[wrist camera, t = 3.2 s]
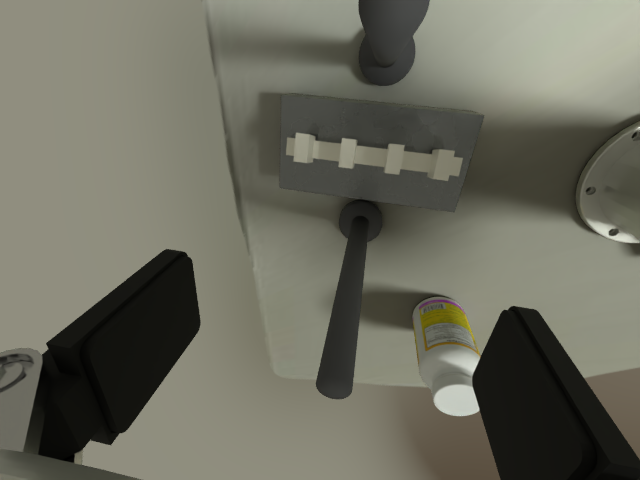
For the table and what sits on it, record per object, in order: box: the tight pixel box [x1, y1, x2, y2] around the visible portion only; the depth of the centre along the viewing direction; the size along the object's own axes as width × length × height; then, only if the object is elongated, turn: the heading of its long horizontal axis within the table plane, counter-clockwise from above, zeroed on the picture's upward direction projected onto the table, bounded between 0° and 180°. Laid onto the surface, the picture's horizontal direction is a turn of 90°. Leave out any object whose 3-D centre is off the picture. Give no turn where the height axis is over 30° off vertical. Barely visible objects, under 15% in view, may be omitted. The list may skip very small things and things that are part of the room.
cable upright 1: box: [316, 200, 382, 399], centre depth 27 cm, size 5×5×23 cm
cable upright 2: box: [359, 0, 430, 86], centre depth 19 cm, size 5×5×23 cm
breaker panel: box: [280, 93, 484, 212], centre depth 31 cm, size 18×9×4 cm, turn 86°
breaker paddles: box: [286, 133, 463, 181], centre depth 28 cm, size 16×2×4 cm, turn 86°
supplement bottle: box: [412, 297, 481, 416], centre depth 36 cm, size 7×7×13 cm
